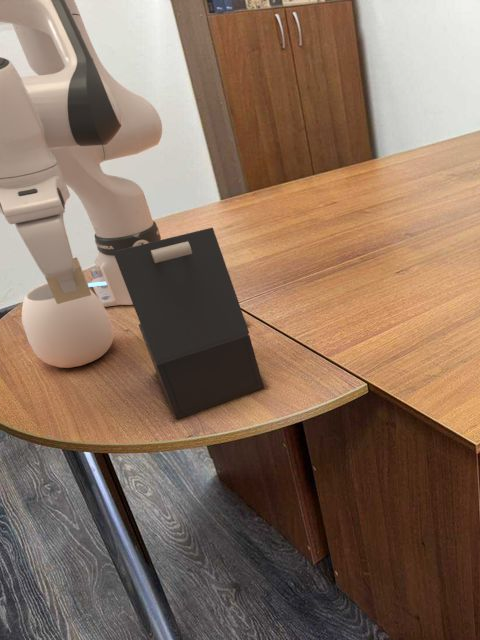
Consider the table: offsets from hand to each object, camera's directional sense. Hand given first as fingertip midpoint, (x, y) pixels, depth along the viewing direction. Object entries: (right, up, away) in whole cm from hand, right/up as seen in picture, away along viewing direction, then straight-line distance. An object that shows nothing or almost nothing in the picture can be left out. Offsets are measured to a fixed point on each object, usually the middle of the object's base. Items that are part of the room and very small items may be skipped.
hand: (68, 283), depth 94 cm
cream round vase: (-12, -11, +24) cm, 29 cm away
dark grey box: (+15, -15, +14) cm, 25 cm away
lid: (+16, -1, +2) cm, 16 cm away
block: (0, -1, +1) cm, 2 cm away
